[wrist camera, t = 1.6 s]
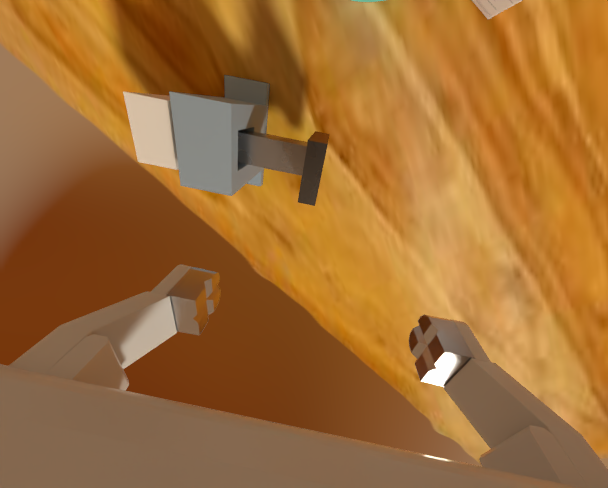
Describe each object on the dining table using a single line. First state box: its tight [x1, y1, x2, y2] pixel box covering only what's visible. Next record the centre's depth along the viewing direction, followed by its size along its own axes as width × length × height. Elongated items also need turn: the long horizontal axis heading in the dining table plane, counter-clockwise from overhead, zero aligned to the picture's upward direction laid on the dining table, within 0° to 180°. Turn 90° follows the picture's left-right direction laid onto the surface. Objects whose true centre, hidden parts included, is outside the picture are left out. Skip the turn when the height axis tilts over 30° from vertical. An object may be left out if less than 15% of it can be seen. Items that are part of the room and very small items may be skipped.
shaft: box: [238, 129, 329, 206], centre depth 22 cm, size 5×20×8 cm, turn 81°
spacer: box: [123, 92, 179, 170], centre depth 24 cm, size 6×4×7 cm, turn 171°
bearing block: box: [169, 75, 270, 196], centre depth 24 cm, size 12×5×12 cm, turn 171°
